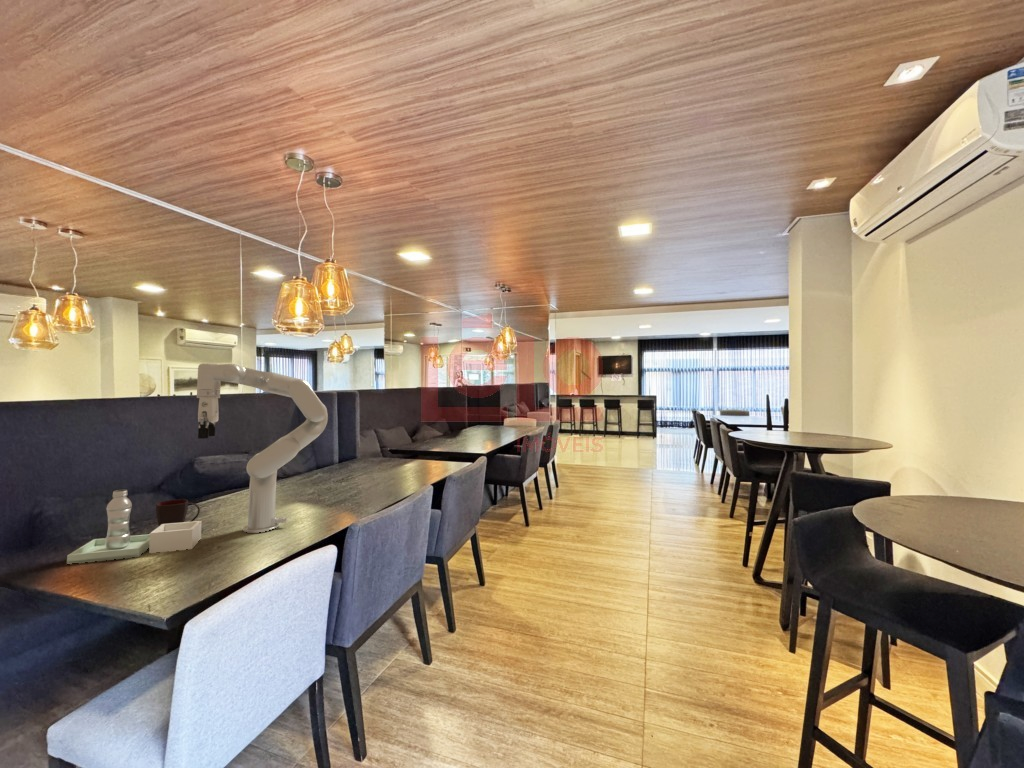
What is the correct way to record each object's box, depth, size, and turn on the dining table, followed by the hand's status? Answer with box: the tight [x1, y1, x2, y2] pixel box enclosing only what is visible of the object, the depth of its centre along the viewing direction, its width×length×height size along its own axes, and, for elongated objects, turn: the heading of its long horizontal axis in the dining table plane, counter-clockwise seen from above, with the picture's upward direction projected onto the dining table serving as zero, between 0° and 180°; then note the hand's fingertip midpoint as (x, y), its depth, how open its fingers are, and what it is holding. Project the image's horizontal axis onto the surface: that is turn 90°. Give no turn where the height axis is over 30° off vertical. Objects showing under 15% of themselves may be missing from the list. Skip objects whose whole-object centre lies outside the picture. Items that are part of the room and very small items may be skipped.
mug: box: [155, 498, 201, 527], centre depth 165 cm, size 10×14×12 cm
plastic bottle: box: [105, 489, 133, 549], centre depth 144 cm, size 6×7×20 cm
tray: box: [66, 533, 150, 565], centre depth 142 cm, size 18×16×3 cm
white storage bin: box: [148, 520, 202, 554], centre depth 149 cm, size 12×11×7 cm
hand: (206, 437), depth 163 cm, fingers open, 9 cm apart
